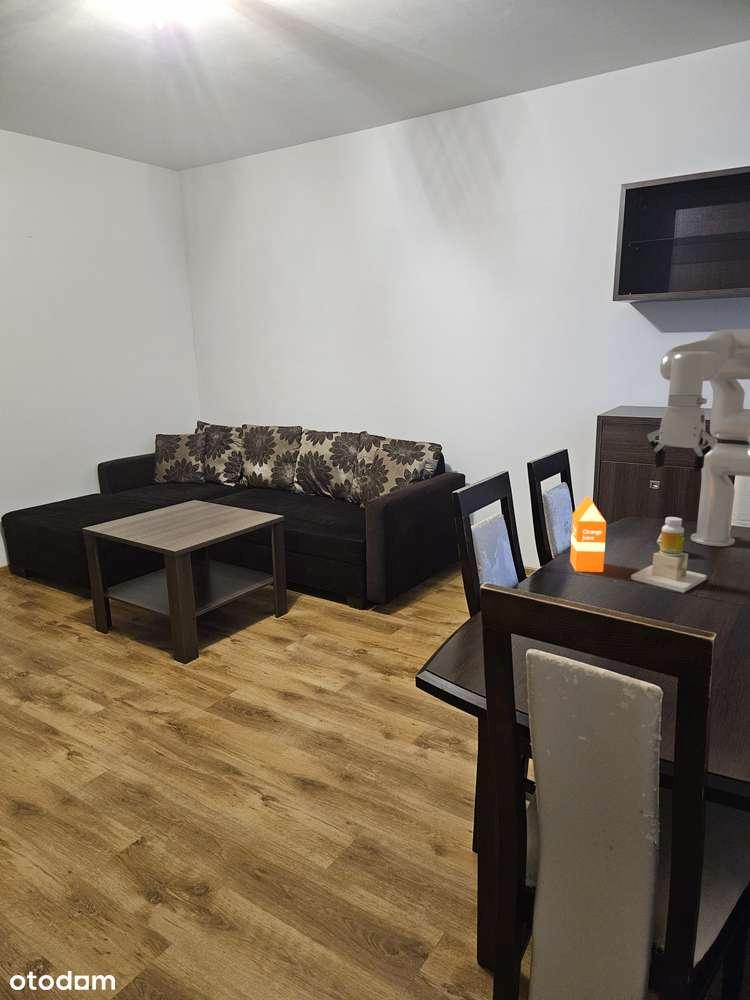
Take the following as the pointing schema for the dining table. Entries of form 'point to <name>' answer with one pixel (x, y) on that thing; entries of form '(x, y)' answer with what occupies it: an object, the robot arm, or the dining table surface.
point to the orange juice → (588, 538)
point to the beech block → (669, 566)
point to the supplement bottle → (672, 537)
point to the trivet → (678, 585)
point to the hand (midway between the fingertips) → (678, 468)
